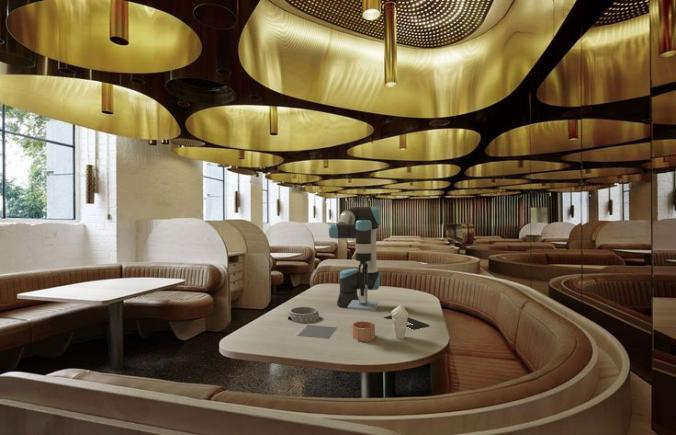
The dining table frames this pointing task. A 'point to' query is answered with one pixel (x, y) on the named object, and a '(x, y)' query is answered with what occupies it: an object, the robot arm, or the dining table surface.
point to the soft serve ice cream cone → (399, 321)
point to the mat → (317, 331)
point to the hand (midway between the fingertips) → (363, 301)
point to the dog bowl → (304, 314)
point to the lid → (363, 306)
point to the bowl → (363, 331)
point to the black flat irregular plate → (415, 323)
